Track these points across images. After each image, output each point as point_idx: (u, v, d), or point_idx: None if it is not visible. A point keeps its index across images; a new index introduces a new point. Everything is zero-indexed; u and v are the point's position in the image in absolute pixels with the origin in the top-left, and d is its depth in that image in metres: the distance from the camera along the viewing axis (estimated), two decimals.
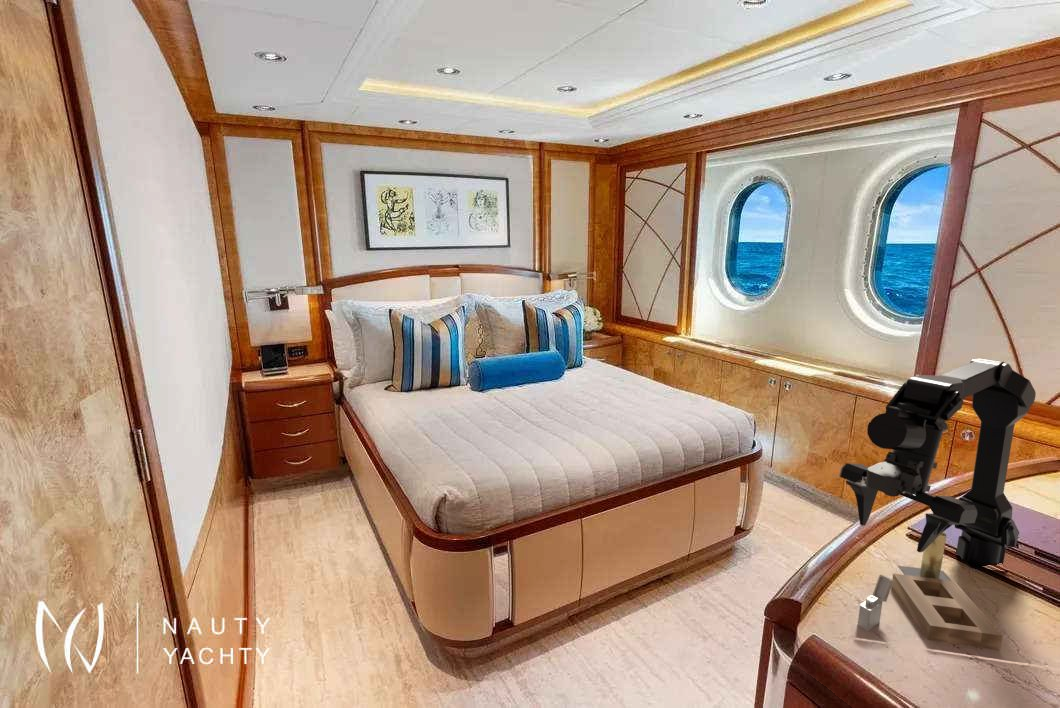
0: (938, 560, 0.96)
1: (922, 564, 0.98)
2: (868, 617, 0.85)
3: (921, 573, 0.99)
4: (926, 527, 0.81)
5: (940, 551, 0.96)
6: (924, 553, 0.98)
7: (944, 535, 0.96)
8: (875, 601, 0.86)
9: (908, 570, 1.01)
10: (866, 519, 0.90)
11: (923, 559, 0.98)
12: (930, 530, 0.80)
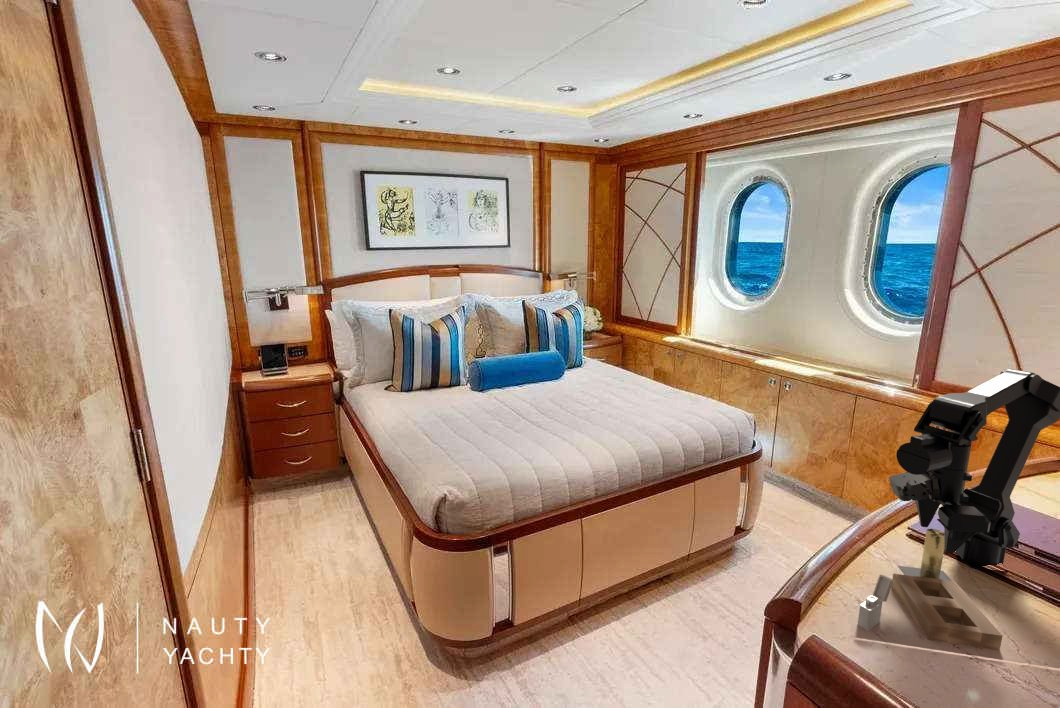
0: (938, 560, 0.96)
1: (922, 564, 0.98)
2: (868, 617, 0.85)
3: (921, 573, 0.99)
4: (945, 531, 0.92)
5: (940, 551, 0.96)
6: (924, 553, 0.98)
7: None
8: (875, 601, 0.86)
9: (908, 570, 1.01)
10: (927, 522, 1.01)
11: (923, 559, 0.98)
12: (947, 534, 0.91)
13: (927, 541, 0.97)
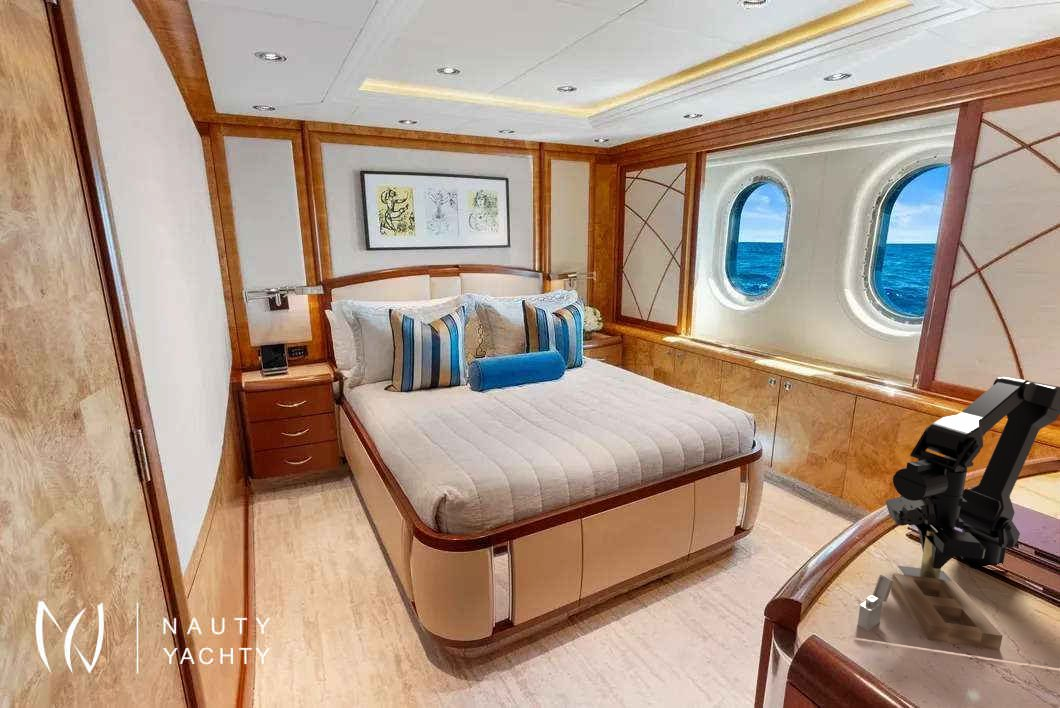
0: None
1: (922, 564, 0.98)
2: (868, 617, 0.85)
3: (921, 573, 0.99)
4: (932, 547, 0.95)
5: None
6: (924, 553, 0.98)
7: None
8: (875, 601, 0.86)
9: (908, 570, 1.01)
10: None
11: (923, 559, 0.98)
12: (934, 550, 0.95)
13: (927, 541, 0.97)
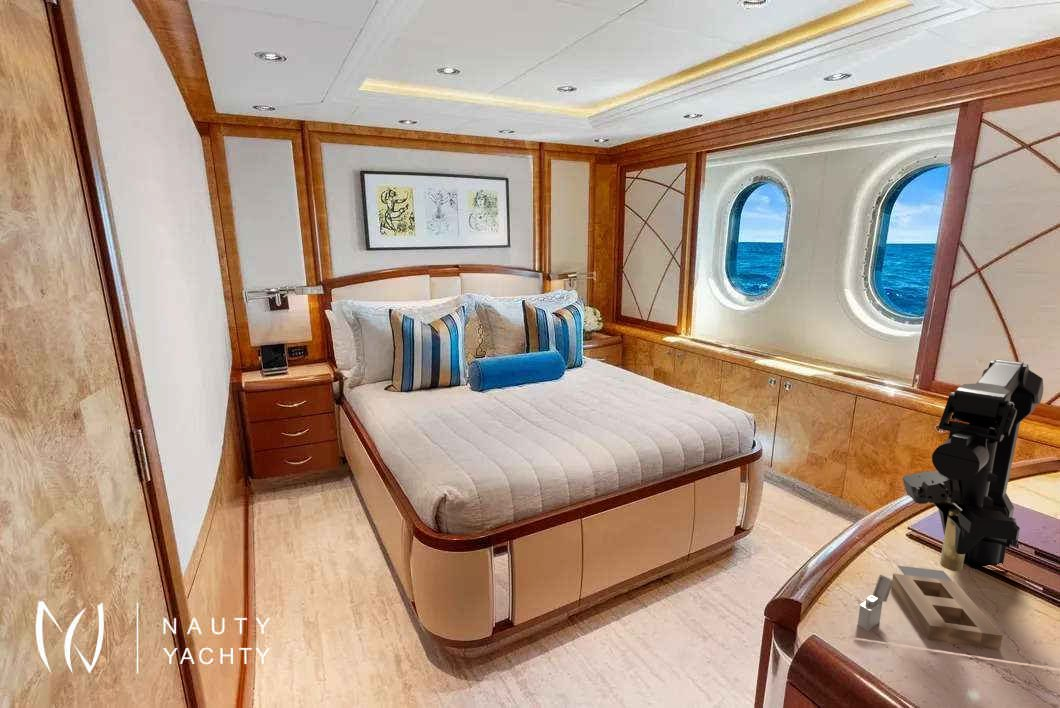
0: None
1: (943, 549, 0.87)
2: (868, 617, 0.85)
3: (942, 559, 0.87)
4: (956, 529, 0.84)
5: None
6: (946, 536, 0.86)
7: None
8: (875, 601, 0.86)
9: (908, 570, 1.01)
10: None
11: (945, 543, 0.86)
12: (958, 532, 0.83)
13: (949, 522, 0.85)
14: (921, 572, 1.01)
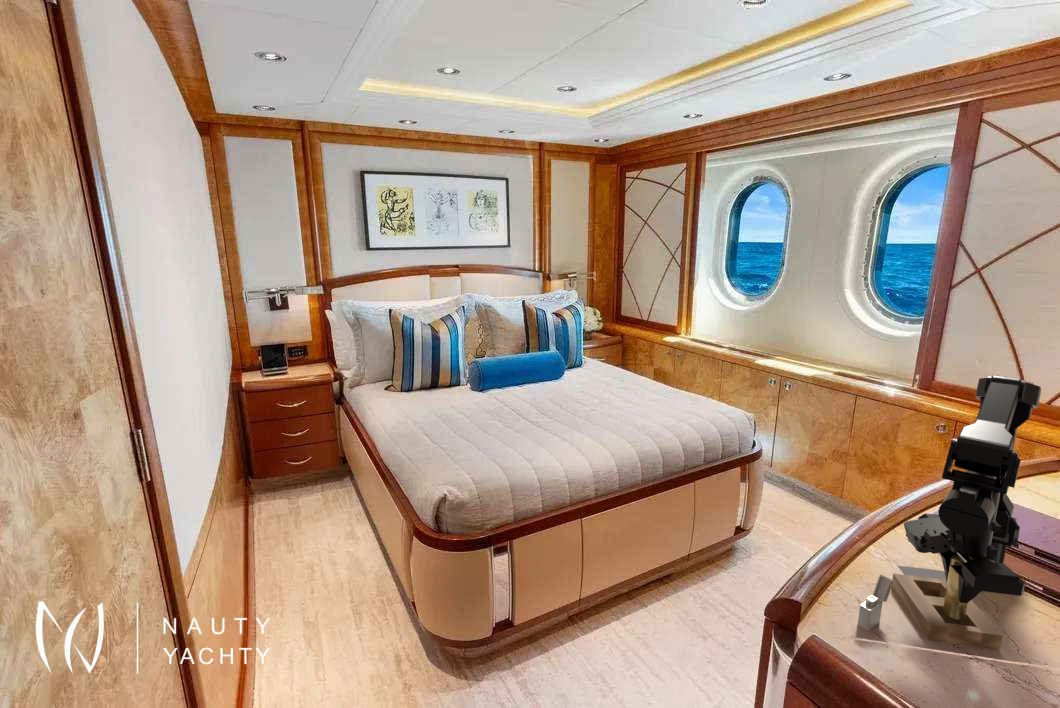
0: None
1: (946, 596, 0.85)
2: (868, 617, 0.85)
3: (944, 607, 0.85)
4: (959, 578, 0.82)
5: None
6: (948, 584, 0.84)
7: None
8: (875, 601, 0.86)
9: (908, 570, 1.01)
10: None
11: (947, 591, 0.84)
12: (961, 582, 0.81)
13: (952, 570, 0.84)
14: (921, 572, 1.01)
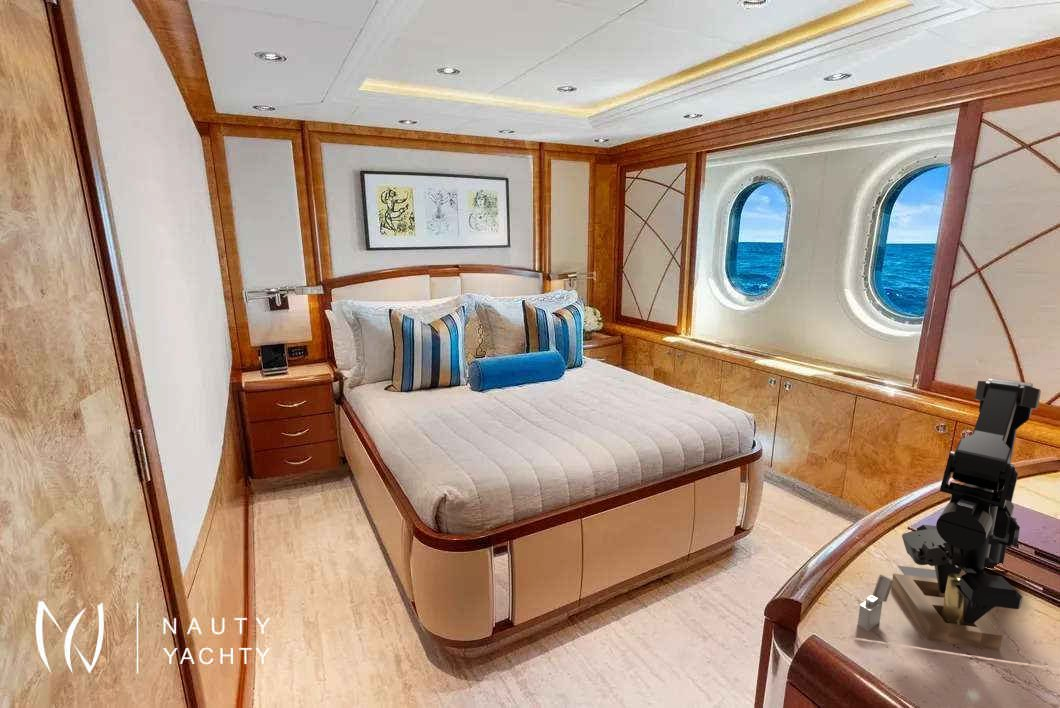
0: (962, 611, 0.83)
1: (943, 614, 0.86)
2: (868, 617, 0.85)
3: None
4: (964, 599, 0.80)
5: None
6: (945, 602, 0.85)
7: None
8: (875, 601, 0.86)
9: (908, 570, 1.01)
10: None
11: (944, 608, 0.85)
12: (966, 602, 0.80)
13: (949, 588, 0.84)
14: (921, 572, 1.01)
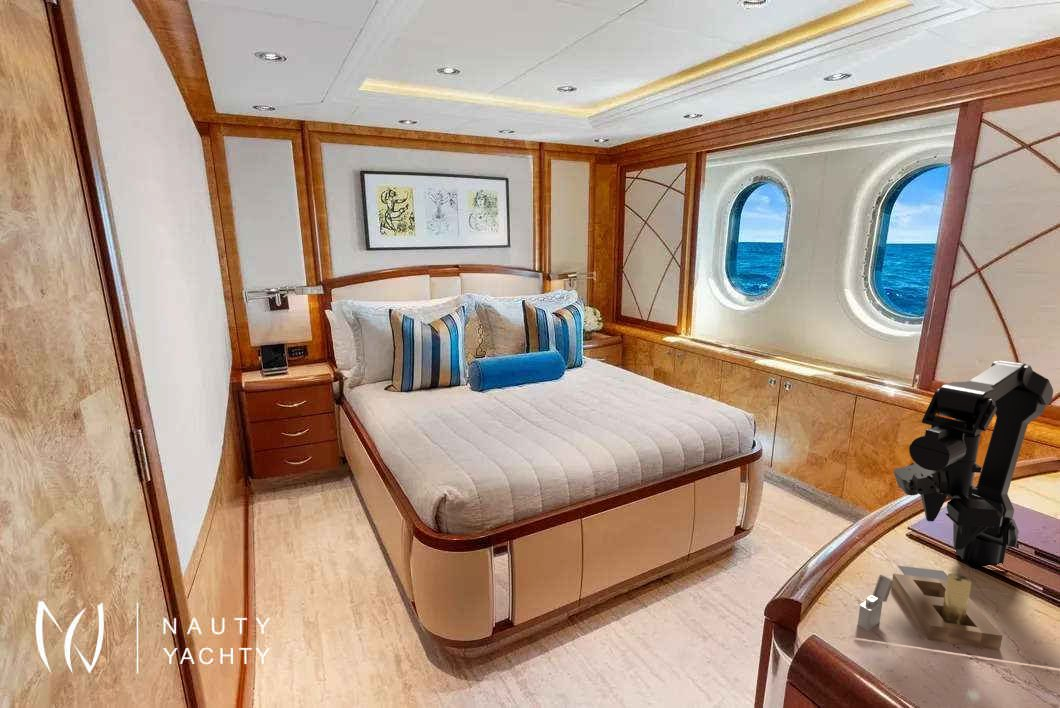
0: (962, 611, 0.83)
1: (943, 614, 0.86)
2: (868, 617, 0.85)
3: None
4: (954, 526, 0.87)
5: (964, 600, 0.83)
6: (945, 601, 0.85)
7: (969, 582, 0.83)
8: (875, 601, 0.86)
9: (908, 570, 1.01)
10: (933, 516, 0.96)
11: (944, 608, 0.85)
12: (956, 529, 0.86)
13: (949, 588, 0.84)
14: (921, 572, 1.01)
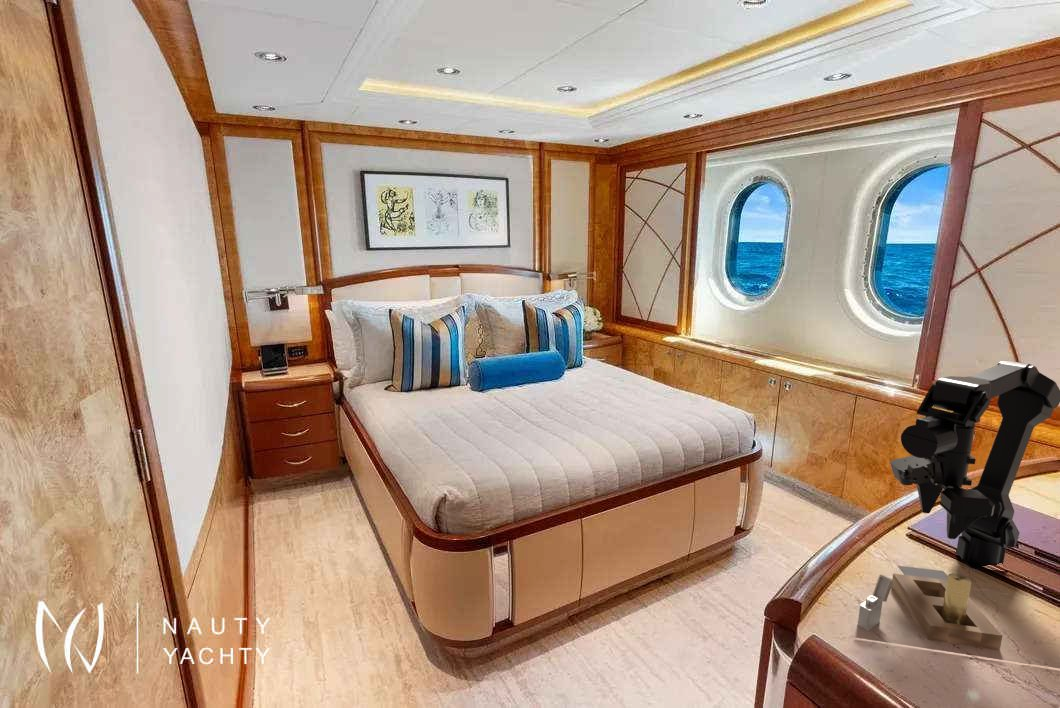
0: (962, 611, 0.83)
1: (943, 614, 0.86)
2: (868, 617, 0.85)
3: None
4: (947, 516, 0.89)
5: (964, 600, 0.83)
6: (945, 601, 0.85)
7: (969, 582, 0.83)
8: (875, 601, 0.86)
9: (908, 570, 1.01)
10: (928, 508, 0.98)
11: (944, 608, 0.85)
12: (949, 518, 0.89)
13: (949, 588, 0.84)
14: (921, 572, 1.01)
